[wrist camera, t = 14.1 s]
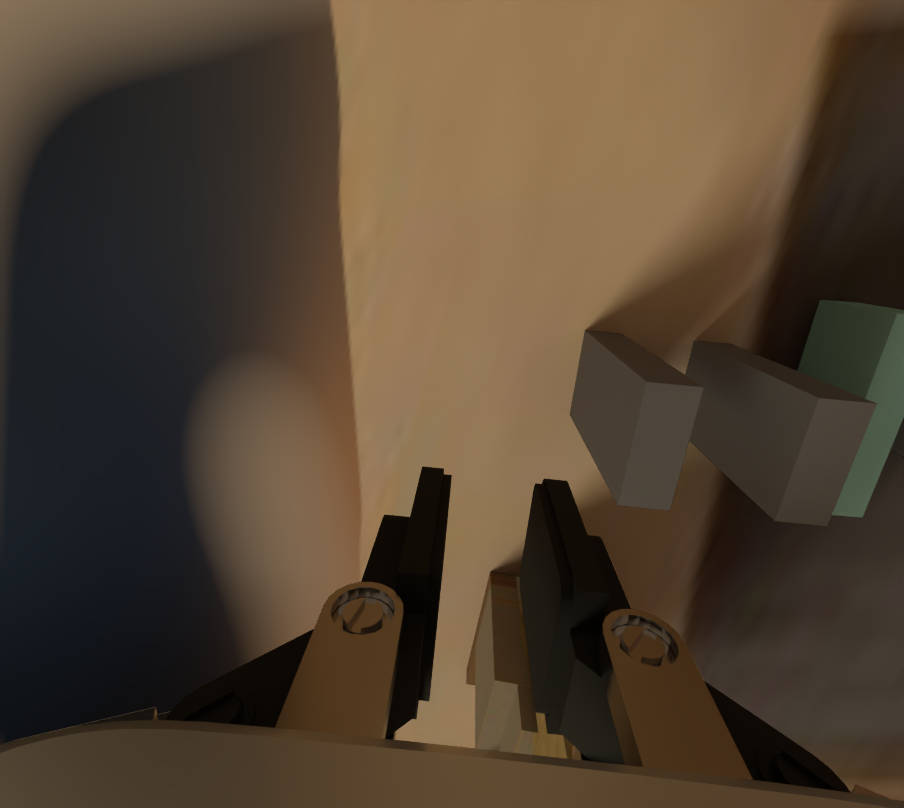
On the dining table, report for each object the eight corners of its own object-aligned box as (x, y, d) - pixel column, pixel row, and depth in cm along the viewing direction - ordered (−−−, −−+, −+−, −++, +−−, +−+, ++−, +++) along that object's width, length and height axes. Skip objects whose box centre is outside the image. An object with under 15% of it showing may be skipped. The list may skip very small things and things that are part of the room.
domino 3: (856, 302, 25) (798, 471, 28) (818, 299, 25) (764, 468, 28) (945, 316, 20) (862, 517, 24) (897, 313, 20) (821, 514, 24)
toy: (459, 698, 35) (440, 1219, 17) (506, 504, 30) (557, 960, 11) (544, 712, 36) (620, 1248, 17) (607, 521, 30) (830, 1006, 11)
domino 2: (706, 428, 27) (826, 526, 18) (672, 424, 28) (774, 521, 18) (730, 344, 26) (877, 403, 16) (694, 340, 26) (819, 398, 16)
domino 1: (603, 417, 28) (669, 510, 18) (569, 414, 28) (617, 505, 18) (621, 333, 26) (704, 387, 16) (585, 330, 26) (646, 381, 17)
